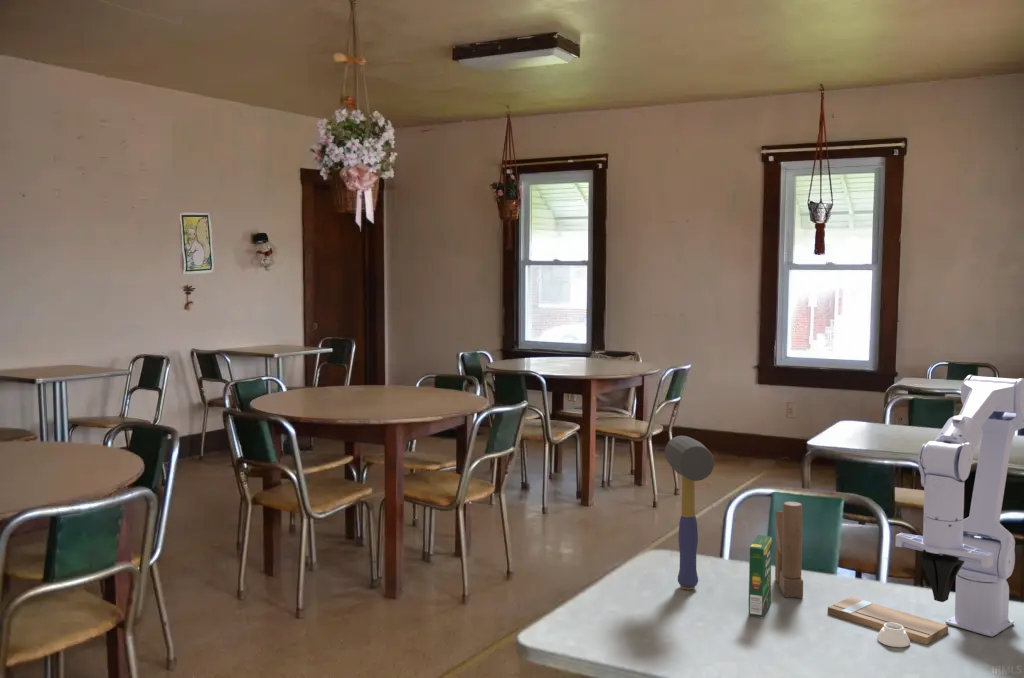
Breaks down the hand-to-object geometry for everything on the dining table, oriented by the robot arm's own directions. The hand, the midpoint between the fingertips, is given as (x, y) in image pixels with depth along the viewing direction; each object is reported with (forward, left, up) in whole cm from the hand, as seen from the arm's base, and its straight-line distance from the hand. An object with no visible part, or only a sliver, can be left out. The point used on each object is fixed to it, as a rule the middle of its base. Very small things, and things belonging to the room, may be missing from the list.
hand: (941, 599), depth 140 cm
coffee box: (+5, -31, -10) cm, 32 cm away
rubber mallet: (+6, -47, -10) cm, 48 cm away
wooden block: (-9, -34, -10) cm, 36 cm away
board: (-7, -13, -9) cm, 17 cm away
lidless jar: (0, -8, -10) cm, 12 cm away
